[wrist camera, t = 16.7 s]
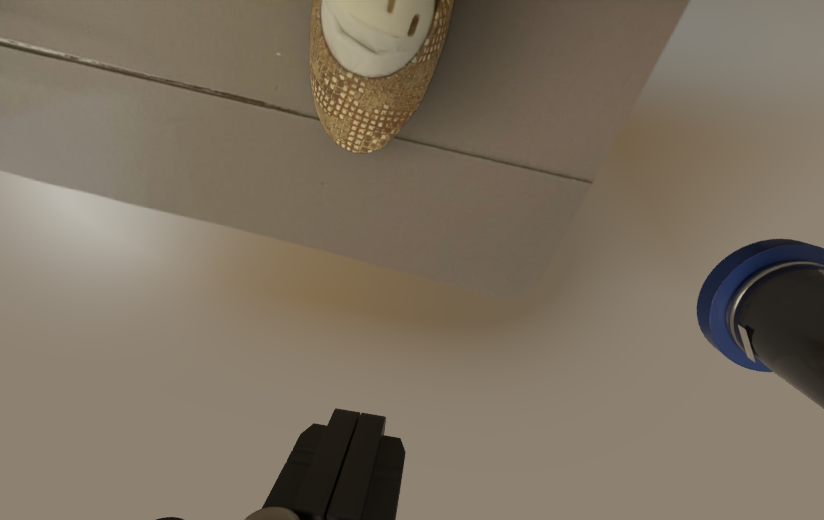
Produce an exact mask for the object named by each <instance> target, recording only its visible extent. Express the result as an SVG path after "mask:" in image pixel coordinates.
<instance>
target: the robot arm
mask: <svg viewBox="0 0 824 520" xmlns="http://www.w3.org/2000/svg"><path fill="white" fill-rule="evenodd" d="M726 327H727V331H728V333H729V336H730V338H731V339H732V341H733V342H734V343H735V345H736V346H737V347H738V348H740V349H741V350H742V351H743V352H745V353H746V354H747V357H748V358H749V359H751V360H752V361H753V362H755V359H756V360H758V361H759V362H761V363H762V364H763V365H765V366H766V367H768V368H769V369H770V370H771V371H773V372H774V373H775V374H777V375H778V376H780V377H781V378H782V379H784V380H785V381H786V382H788V383H789V384H791V385H792V386H793V387H795V388H796V389H797V390H799V391H800V392H802V393H803V394H804V395H806V396H807V397H808V398H810V399H811V400H813V401H814V402H815V403H817V404H818V405H819V406H821V407H822V408H824V265H821V264H819V263H816V262H812V261H808V260H800V259H792V260H783V261H779V262H775V263H772V264H769V265H767V266H764V267H762V268H760V269H758V270H757V271H755V272H754V273H752V274H751V275H749V276H748V277H747V278H746V279H745V280H744V281H743V282H742V283H741V284H740V285H739V286H738V287H737V288H736V290H735V291H734V293H733V295H732V296H731V298H730V301H729V303H728V306H727V310H726ZM755 363H756V362H755ZM385 422H386V417H384V416H378V415H372V414H366V413H361V415H360V412H354V411H348V410H342V409H335V410H334V412H333V414H332V417H331V419H330V421H329V423H328V426H325V425H319V424H313V425H312V426H310V427H309V428H308V429H306V430H305V431H304V432H303V433H301V435H300V436H299V438H298V440H297V442H296V444H295V446H294V448H293V451H292V452H291V454H290V455H289V457H288V460H287V463H286V464H285V465H284V467H283V469H282V471H281V473H280V475H279V477H278V479H277V481H276V483H275V484H274V486H273V488H272V490H271V492H270V494H269V496H268V498H267V500H266V502H265V504H264V505H263V507H262V509H260V510H258V511H256V512H254V513H252V514H251V515H249V516H248V517H247V518H246V519H245V520H395V519H396V512H397V505H398V500H399V493H400V485H401V479H402V473H403V466H404V459H405V450H404V447H403V444H402V442H401V439H400V438H396V437H390V436H384V430H385ZM157 520H183V519H180V518H175V517H167V518H161V519H157Z"/></svg>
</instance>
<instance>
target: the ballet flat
mask: <svg viewBox="0 0 824 520" xmlns="http://www.w3.org/2000/svg"><path fill="white" fill-rule="evenodd" d="M453 3H454V0H313V5H312V13H311V26H310V57H309V62H310V78H311V86H312V92H313V98H314V102H315V106H316V110H317V113H318V116H319V118H320V121H321V123H322V126H323V127H324V129H325V131H326V132H327V134H328V135H329V136H330V137H331V138H332V140H333V141H334V142H335V143H336V144H338V145H339V146H340V147H342V148H344V149H346V150H348V151H351V152H354V153H361V154H362V153H369V152H373V151H376V150H378V149H380V148H382V147H384V146H385V145H386V144H387V143H389V142H390V141H391V140H392V139H393V138H394V137H395V136H396V135H397V133H398V132H399V131H400V130H401V129H402V127H403V126H404V125H405V124H406V123H407V121H408V120H409V119H410V117H411V116H412V115H413V113H414V112H415V111H416V109H417V108H418V106H419V105H420V103H421V101H422V99H423V97H424V95H425V92H426V89H427V87H428V85H429V83H430V80H431V78H432V76H433V73H434V70H435V67H436V65H437V62H438V60H439V57H440V54H441V52H442V49H443V46H444V43H445V38H446V36H447V31H448V28H449V23H450V17H451V12H452V8H453Z"/></svg>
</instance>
